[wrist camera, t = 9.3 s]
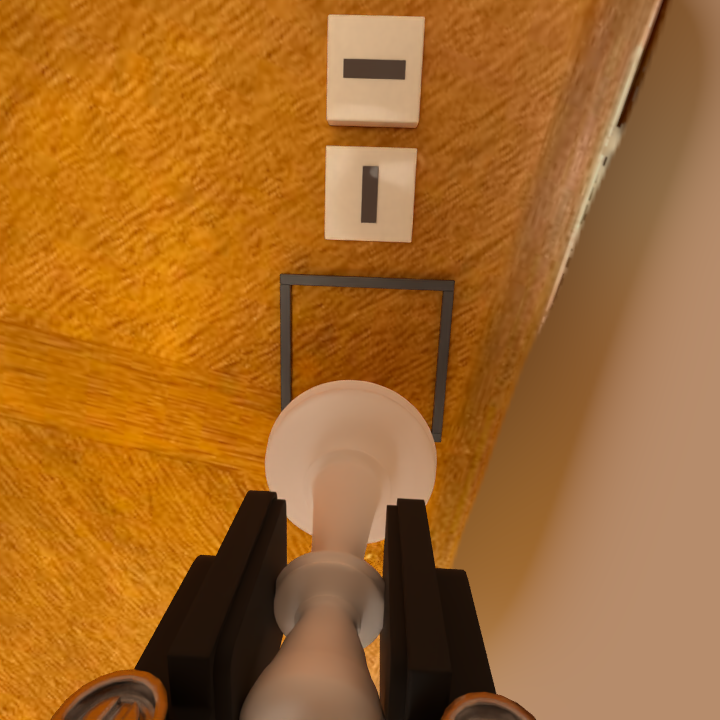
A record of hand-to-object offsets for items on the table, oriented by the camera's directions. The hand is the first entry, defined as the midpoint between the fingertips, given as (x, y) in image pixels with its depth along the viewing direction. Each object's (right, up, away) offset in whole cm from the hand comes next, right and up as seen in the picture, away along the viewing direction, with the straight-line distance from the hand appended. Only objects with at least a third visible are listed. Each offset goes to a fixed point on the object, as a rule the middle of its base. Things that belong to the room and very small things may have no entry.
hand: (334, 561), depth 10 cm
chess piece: (0, +1, +5) cm, 5 cm away
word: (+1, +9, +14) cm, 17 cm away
